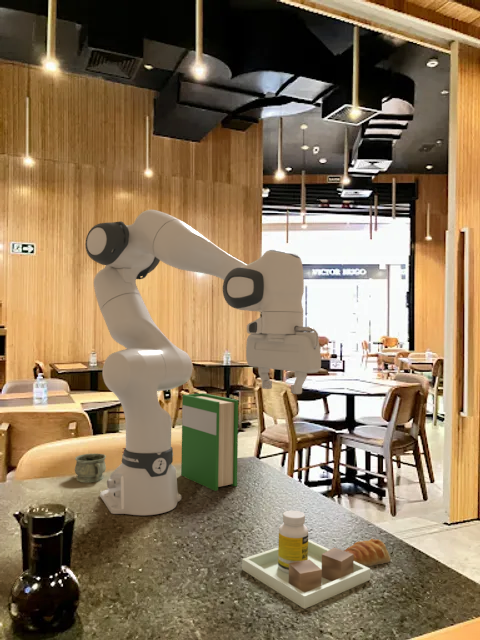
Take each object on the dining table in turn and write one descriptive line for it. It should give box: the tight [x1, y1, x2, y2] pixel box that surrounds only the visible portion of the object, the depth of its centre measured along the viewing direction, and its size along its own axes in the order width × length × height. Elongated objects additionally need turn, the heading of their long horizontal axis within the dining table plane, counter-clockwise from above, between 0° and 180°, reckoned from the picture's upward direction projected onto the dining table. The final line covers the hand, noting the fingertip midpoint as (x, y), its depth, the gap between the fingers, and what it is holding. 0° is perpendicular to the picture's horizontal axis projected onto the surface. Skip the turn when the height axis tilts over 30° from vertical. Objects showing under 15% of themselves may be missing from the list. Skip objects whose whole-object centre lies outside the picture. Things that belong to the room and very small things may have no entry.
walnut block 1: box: [289, 560, 322, 593], centre depth 86 cm, size 4×4×4 cm
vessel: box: [74, 453, 107, 483], centre depth 149 cm, size 12×9×6 cm
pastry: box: [343, 538, 391, 567], centre depth 99 cm, size 9×7×4 cm
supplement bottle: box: [278, 510, 309, 573], centre depth 94 cm, size 5×5×10 cm
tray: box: [241, 538, 371, 610], centre depth 92 cm, size 16×16×2 cm
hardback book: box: [180, 392, 239, 492], centre depth 149 cm, size 18×7×24 cm, turn 38°
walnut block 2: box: [322, 547, 354, 581], centre depth 91 cm, size 4×4×4 cm
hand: (281, 391), depth 110 cm, fingers open, 8 cm apart
